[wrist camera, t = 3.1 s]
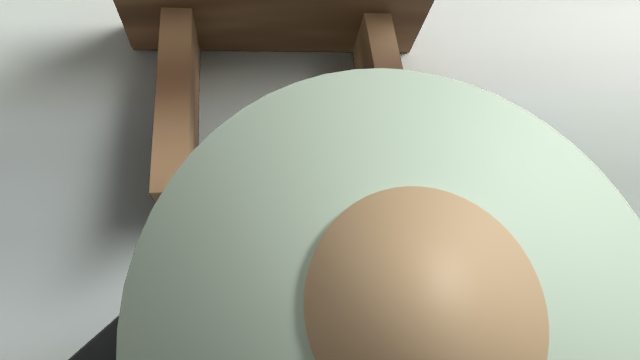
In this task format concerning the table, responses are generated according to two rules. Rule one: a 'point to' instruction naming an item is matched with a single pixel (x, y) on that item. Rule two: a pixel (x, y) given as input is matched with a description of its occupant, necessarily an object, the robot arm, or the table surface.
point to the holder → (251, 49)
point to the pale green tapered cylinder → (384, 234)
